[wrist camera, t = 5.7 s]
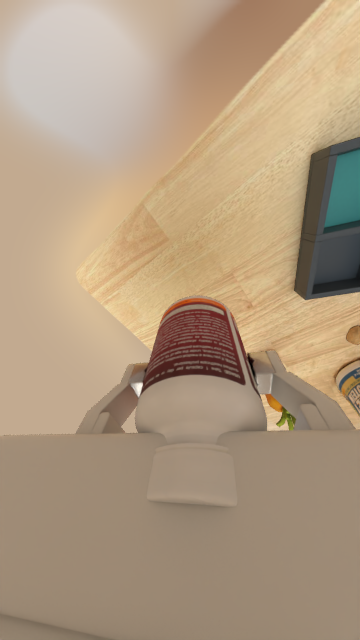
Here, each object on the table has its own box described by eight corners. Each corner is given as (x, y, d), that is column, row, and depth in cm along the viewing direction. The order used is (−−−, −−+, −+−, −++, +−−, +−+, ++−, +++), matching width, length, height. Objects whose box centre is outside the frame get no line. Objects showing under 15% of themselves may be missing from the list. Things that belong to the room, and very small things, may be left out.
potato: (365, 324, 32) (373, 329, 30) (360, 340, 34) (367, 346, 32) (348, 326, 32) (355, 332, 31) (344, 342, 34) (350, 348, 33)
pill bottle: (147, 327, 15) (76, 507, 6) (194, 276, 12) (188, 473, 3) (199, 361, 17) (202, 538, 8) (250, 324, 14) (344, 533, 5)
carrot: (268, 367, 40) (301, 442, 27) (248, 362, 39) (272, 435, 27) (281, 352, 37) (324, 428, 24) (260, 346, 36) (293, 419, 24)
